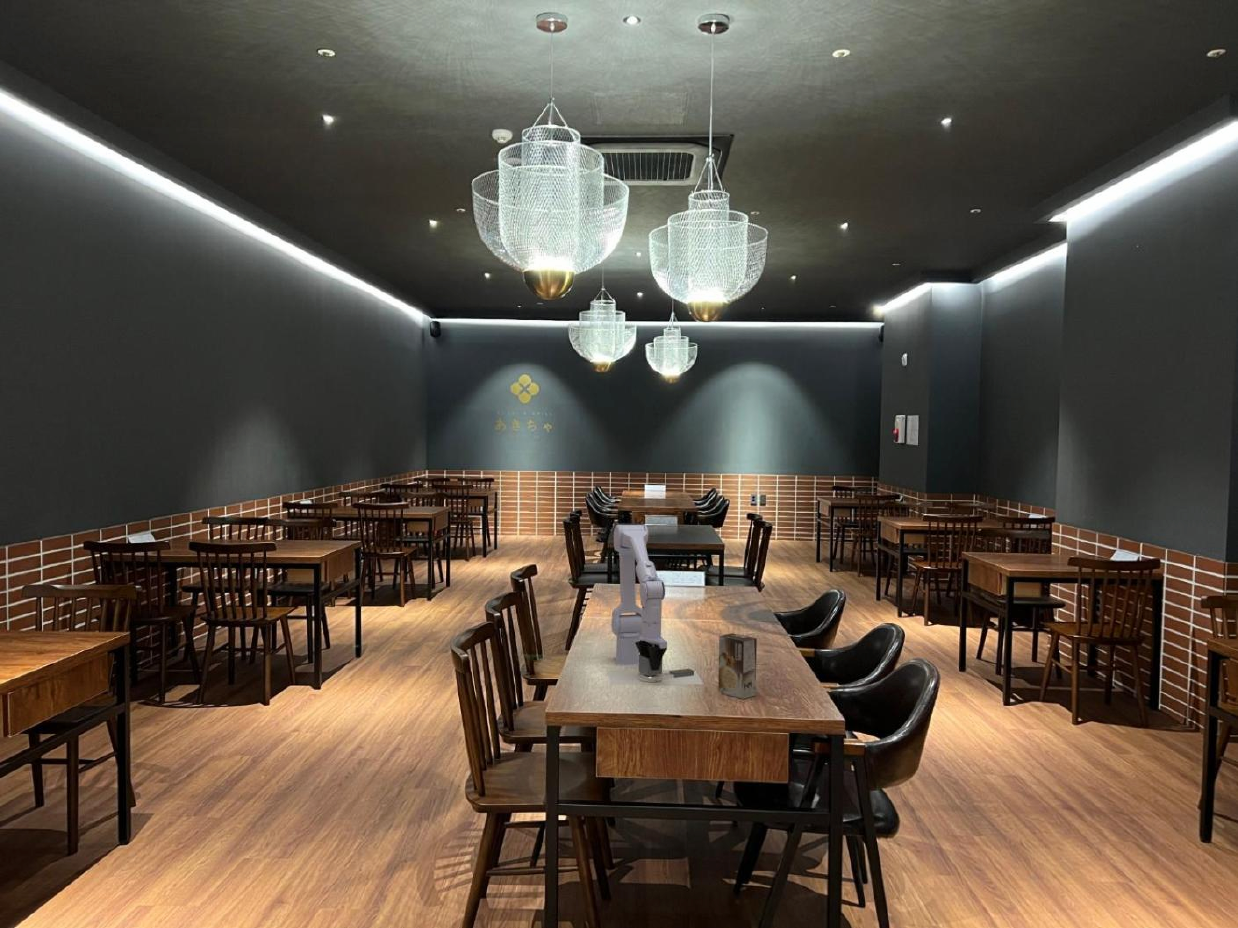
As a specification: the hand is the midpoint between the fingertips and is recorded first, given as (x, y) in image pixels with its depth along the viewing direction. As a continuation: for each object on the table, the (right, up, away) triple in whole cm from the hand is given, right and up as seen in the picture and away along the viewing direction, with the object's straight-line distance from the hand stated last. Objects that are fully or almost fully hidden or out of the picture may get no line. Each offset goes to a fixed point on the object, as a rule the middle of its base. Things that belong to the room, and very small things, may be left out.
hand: (650, 667), depth 255 cm
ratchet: (+5, -3, +3) cm, 6 cm away
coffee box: (+24, -5, -11) cm, 27 cm away
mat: (+1, -4, +3) cm, 5 cm away
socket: (0, -1, 0) cm, 1 cm away
